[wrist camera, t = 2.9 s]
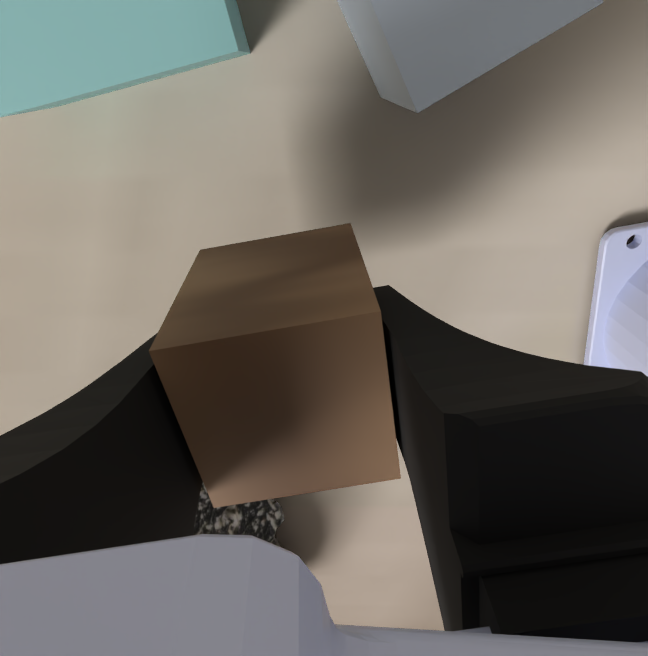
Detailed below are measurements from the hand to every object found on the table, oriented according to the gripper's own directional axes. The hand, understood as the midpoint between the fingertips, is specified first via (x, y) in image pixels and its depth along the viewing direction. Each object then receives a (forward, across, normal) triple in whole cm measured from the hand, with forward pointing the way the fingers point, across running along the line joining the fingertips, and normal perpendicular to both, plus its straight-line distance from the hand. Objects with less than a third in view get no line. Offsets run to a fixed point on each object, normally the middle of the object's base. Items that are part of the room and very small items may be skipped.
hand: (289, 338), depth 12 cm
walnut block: (+2, 0, 0) cm, 2 cm away
